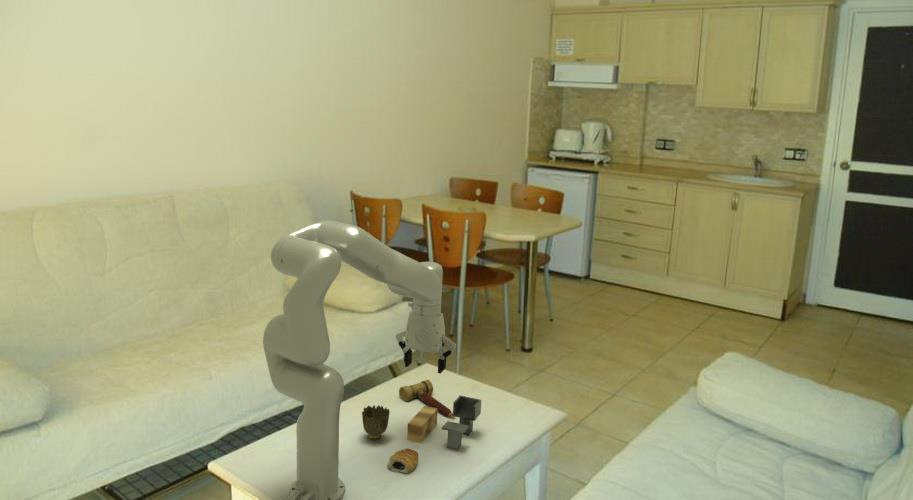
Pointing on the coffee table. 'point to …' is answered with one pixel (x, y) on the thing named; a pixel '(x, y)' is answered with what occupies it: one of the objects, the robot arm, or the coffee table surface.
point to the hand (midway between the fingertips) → (424, 368)
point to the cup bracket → (467, 411)
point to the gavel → (424, 396)
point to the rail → (422, 424)
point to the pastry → (403, 461)
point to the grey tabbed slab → (454, 434)
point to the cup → (375, 421)
